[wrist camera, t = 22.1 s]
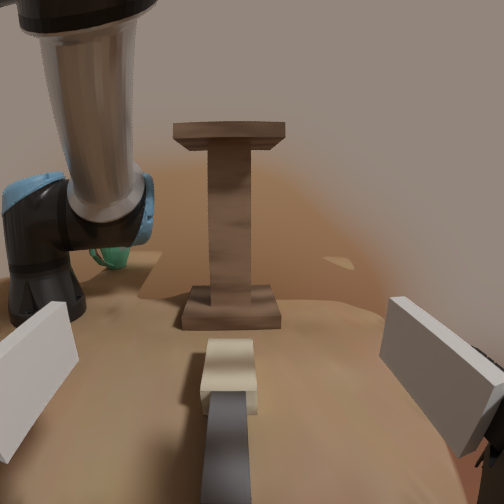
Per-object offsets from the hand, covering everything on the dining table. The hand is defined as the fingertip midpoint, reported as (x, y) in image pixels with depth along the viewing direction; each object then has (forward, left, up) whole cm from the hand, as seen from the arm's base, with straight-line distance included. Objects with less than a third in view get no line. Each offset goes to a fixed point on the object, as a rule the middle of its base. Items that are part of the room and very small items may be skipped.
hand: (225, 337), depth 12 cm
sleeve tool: (-6, +8, -15) cm, 18 cm away
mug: (-61, +34, -15) cm, 71 cm away
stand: (-21, +30, -15) cm, 40 cm away
